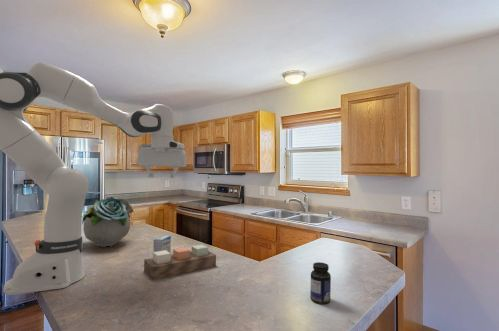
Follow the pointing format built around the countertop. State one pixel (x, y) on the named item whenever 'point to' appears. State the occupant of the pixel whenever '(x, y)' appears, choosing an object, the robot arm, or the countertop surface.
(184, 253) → the terracotta key
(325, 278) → the pill bottle
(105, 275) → the countertop surface
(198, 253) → the sage key
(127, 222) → the flower arrangement
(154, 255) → the cream key
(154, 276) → the key panel
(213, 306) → the countertop surface
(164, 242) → the medicine box
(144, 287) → the countertop surface
